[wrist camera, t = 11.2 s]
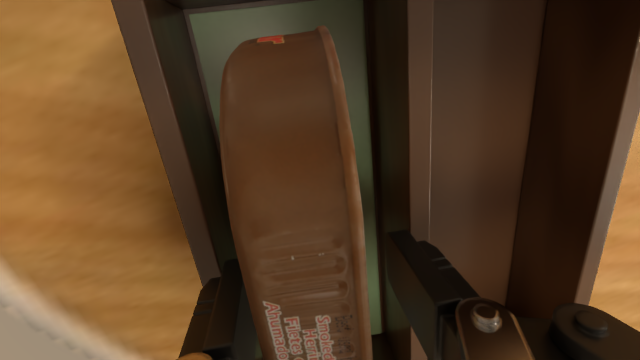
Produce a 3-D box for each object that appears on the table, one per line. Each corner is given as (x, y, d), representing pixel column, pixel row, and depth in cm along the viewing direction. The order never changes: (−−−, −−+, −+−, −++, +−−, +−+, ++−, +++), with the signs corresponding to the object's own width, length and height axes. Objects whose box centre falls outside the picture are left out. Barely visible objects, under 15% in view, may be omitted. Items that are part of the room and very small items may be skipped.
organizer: (162, -9, 12) (93, -52, 7) (555, -49, 13) (698, -106, 9) (258, 356, 19) (253, 445, 15) (506, 305, 20) (571, 373, 16)
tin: (347, 323, 18) (404, 528, 10) (293, 334, 17) (307, 553, 10) (317, 36, 12) (390, -10, 4) (236, 46, 12) (163, 15, 4)
